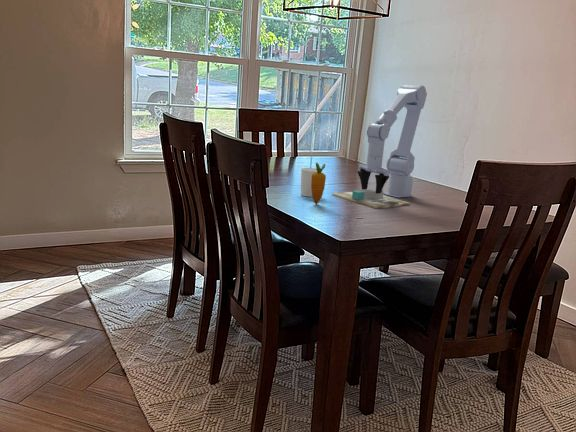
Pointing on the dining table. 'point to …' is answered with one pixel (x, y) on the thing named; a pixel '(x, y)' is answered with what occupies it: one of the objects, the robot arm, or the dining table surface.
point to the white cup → (306, 181)
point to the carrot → (318, 183)
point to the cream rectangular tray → (373, 201)
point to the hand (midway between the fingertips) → (371, 191)
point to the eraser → (366, 194)
